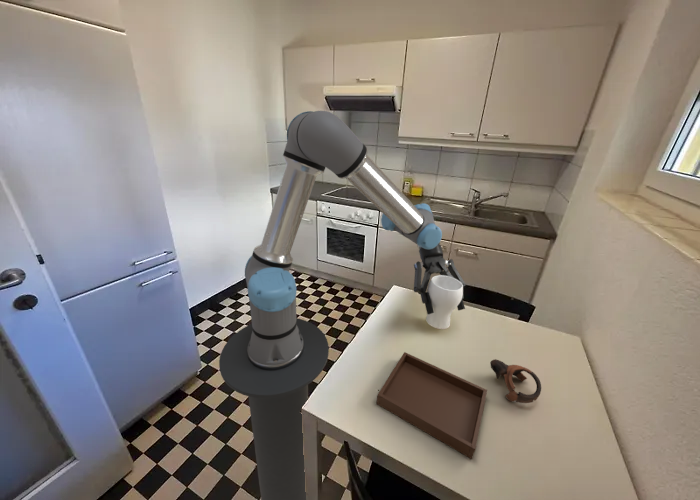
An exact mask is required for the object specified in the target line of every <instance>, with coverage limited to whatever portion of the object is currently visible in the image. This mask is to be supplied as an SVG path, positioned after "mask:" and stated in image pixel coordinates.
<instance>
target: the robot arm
mask: <svg viewBox="0 0 700 500" xmlns="http://www.w3.org/2000/svg"><path fill="white" fill-rule="evenodd" d="M368 151H369V149H368V147H367V146H366V145H365V144H364V143H363V142H362V141H361V140H360V139H359V137H358V136H357V135H356V133H354V132H353V130H352V129H351V128H350V127H349V126H348V125H347V124H346V123H345V122H344V121H343V120H342V119H341V118H340V117H339V116H337V115H336V114H335V113H332V112H330V111H328V110H315V111H311V110H310V111H303V112H301V113H299V114H297V115H296V116H294V117H293V118H292V120H291V121H290V122H289V125H288V127H287V130H286V144H285V148H284V150H283V153H282V158H283V160H284V162H285V168H284V171H283V174H282V177H281V181H280V184H279V187H278V190H277V193H276V195H275V199H274V202H273V206H272V209H271V212H270V215H269V219H268V221H267V225H266V228H265V232H264V234H263V237H262V240H261V244H259V245H256V246H255V247H254V248H253V250H252V254H251V256H249V258H248V259H247V260H246V263H245V267H244V279H245V281H246V282H245V283H246V287H247V295H248V302H249V309H250V320H251V324H252V329H253V331H252V334H251V339H250V341H249V344H248V348H247V351H248V358H249V360H250V362H251V363H252V364H253V365H254V366H255V367H257V368H259V369H263V370H279V369H283V368H286V367H288V366H290V365H292V364H293V363H295V362H296V361H297V360H298V359H299V358H300V357H301V355H302V353H303V348H304V343H303V338H302V336H301V335H302V334H300V333H301V332H300V330H299V329H298V327H297V323H296V318H297V283H296V279H295V277H294V276H293V274H292V273H291V272H290V270H291V267H292V264H293V261H294V258H293V256H292V254H291V251H292V248H293V246H294V242H295V239H296V237H297V234H298V231H299V228H300V226H301V222H302V219H303V216H304V214H305V211H306V208H307V205H308V203H309V199H310V197H311V193H312V191H313V188H314V186H315V183H316V179H317V177H318V176H320V175H321V174H324V173H325V170H326V169H327V170H329V171H331V172H332V173H333V174H334V175H335V176H336V177H337V178H339V179H340V180H341V179H346V180H347V181H348V182H349V184H351V185H352V186H353V187H354V188H355V189H356V190H357V191H358V192H359V193H361V194H362V196H364V197H365V198H366V199H367V200H368V201H369V202H370V203H371V204H373V205H374V207H376V208H377V209H378V210H379V211H380V212H381V213H382V215H381V218H380V221H381V222H380V223H381V226H382V229H383V230H385V231H389V232H395V233H396V232H397V233H398V234H399V235H402V236H403V237H404V238H406V239H408V240H410V241H411V242H413V243H414V244H416V245H417V249H418V254H419V257H420V260H421V261H416V262H415V263H413V267H414V280H413V281H414V282H413V292H414V293H417V294H418V295H420V298H421V303H422V304H424V306H425V311H426V315H427V314H431V313H434V311H433V307H432V303H431V299H430V295H429V292H427V289H428V285H429V283H430V281H431V278H432V277H431V276H432V275H433V274H439V275H444V276H449V277H452V278H455V279H457V280H458V281H460V282H461V283H462V285H463V288H464V287H466V282H465V280H464V279H463V277H462V276H461V274H460V272H459V270H458V269H457V267H456V266H455V263H454V260H453V259H452V258H450V259H449V260H448V259H445V258H444V252H443V248H442V245H441V241H442V237H443V231H442V229H441V228H440V227H439V226H438V225H436V222H435V218H434V214H433V212H432V209H431V207H430V205H429V204H427V203H417V204H413V203H412V202H411V200H410V199H409V198H408V197H407V195H405V194H404V192H402V191H401V190H400V188H398V187H397V185H396V184H395V182H393V181H392V180H391V179H390V178H389V176H388V175H386V173H385V172H384V171H383V170H382V169H381V168H380V167H379V166H378V165H377V163H375V161H373V159H372V158H371V157H370V156H369V155H368ZM422 268H423V269H425V270H424V273H423V269H422ZM422 274H423V278H422ZM463 299H464V295H463V296H462V300H461V301H460V303H459V304H458V306H457V307H456V309H457V311H463V310H465V309H466V307H465V302H464V300H463Z"/></svg>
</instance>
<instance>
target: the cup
mask: <svg viewBox="0 0 700 500" xmlns="http://www.w3.org/2000/svg"><path fill="white" fill-rule="evenodd" d="M426 292H429V295H430V299H431V303H432V307H433V311H434V313H431V314H427V313H426V317H425V321H426V323H427V324H428V325H429V326H431V328H435V329H438V330H445V329H448V328H449V327H450V325H451V315H452V313H453V311H454V310H455V309H457V306H458V304H459V303H460V301H461V300H462V296H463V297H464V287H463V285H462V283H461V282H460V281H458V280H457V279H455V278H452V277H449V276H444V275H440V274H439V275H438V274H437V275H434V276H432V277H431V278H430V280H429V283H428V286H427V290H426Z"/></svg>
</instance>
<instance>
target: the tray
mask: <svg viewBox="0 0 700 500" xmlns="http://www.w3.org/2000/svg"><path fill="white" fill-rule="evenodd" d="M487 394H488V389H486V388H484V387H481V386H479V385H477V384H475V383H473V382H471V381H469V380H467V379H465V378H462V377H460V376H458V375H456V374H453V373H451V372H449V371H447V370H445V369H442V368H440V367H438V366H436V365H434V364H432V363H429V362H427V361H426V360H423V359H421V358H418V357H417V356H414V355H412V354H410V353H407V352H406V351H404V352H403V354H402V355H401V357H400V358H399V360H398V362H397V363H396V365H395V366H394V367H393V369H392V371H391V372H390V374H389V376H388V377H387V379H386V380H385V382H384V384H383V385H382V387H380V390H379V391H378V393H377V395H376V396H377V397H376V402H375V404H376V405H378V406H380V407H381V408H383V409H385V410H387V411H388V412H389V413H392V414H394V415H395V416H397V417H398V418H400V419H402V420H403V421H406V422H407V423H409V424H410V425H412V426H415V427H416V428H417V429H419V430H421V431H422V432H424V433H426V434H428V435H430V436H432V437H433V438H435V439H437V440H438V441H440V442H442V443H444V444H445V445H446V446H449V447H450V448H452V449H454V450H455V451H457V452H458V453H460V454H462V455H464V456H466V457H467V458H469V459H470V460H472V459H473V457H474V454H475V451H476V449H477V443H478V439H479V438H478V437H479V433H480V429H481V424H482V419H483V414H484V408H485V405H486V404H485V403H486V399H487Z"/></svg>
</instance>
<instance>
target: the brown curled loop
mask: <svg viewBox="0 0 700 500" xmlns="http://www.w3.org/2000/svg"><path fill="white" fill-rule="evenodd" d="M490 368H491V370H492V371H493V373H494V374H495V377H496V379H497V380H499V378H500V377H504V382H505V386H506V388H507V390H508V392H509V393H507V394H505V398H506V399H507V400H508V401H509V402H516V403H520V404H530V403H533V402H534V401H537V399H538V398H539V397H540V395H541V392H542V383H541V381H540V378H539V377H538V376H537V374H535V372H533V371H532V370H531V369H529V368H527V367H524V366H521V365H519V364H506V363H505V362H504V361H501V360H499V359H496V358H495V359H492V360H490ZM522 372H526V373H527V374H528V375H530V376H531V377H532V378H533V381H534V382H535V384H536V389H535V391H534V392H533V393H532V394H525V393H523V392H522V391H518V393H517V392H516V390H515V389H516V386H515V384H514V382H513V376H514V377H516V378H517V379H519V381H521V382H522V383H523V382H524V381H525V380H527V379H528V378H527V376H526V375H525V374H524V373H522Z"/></svg>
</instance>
